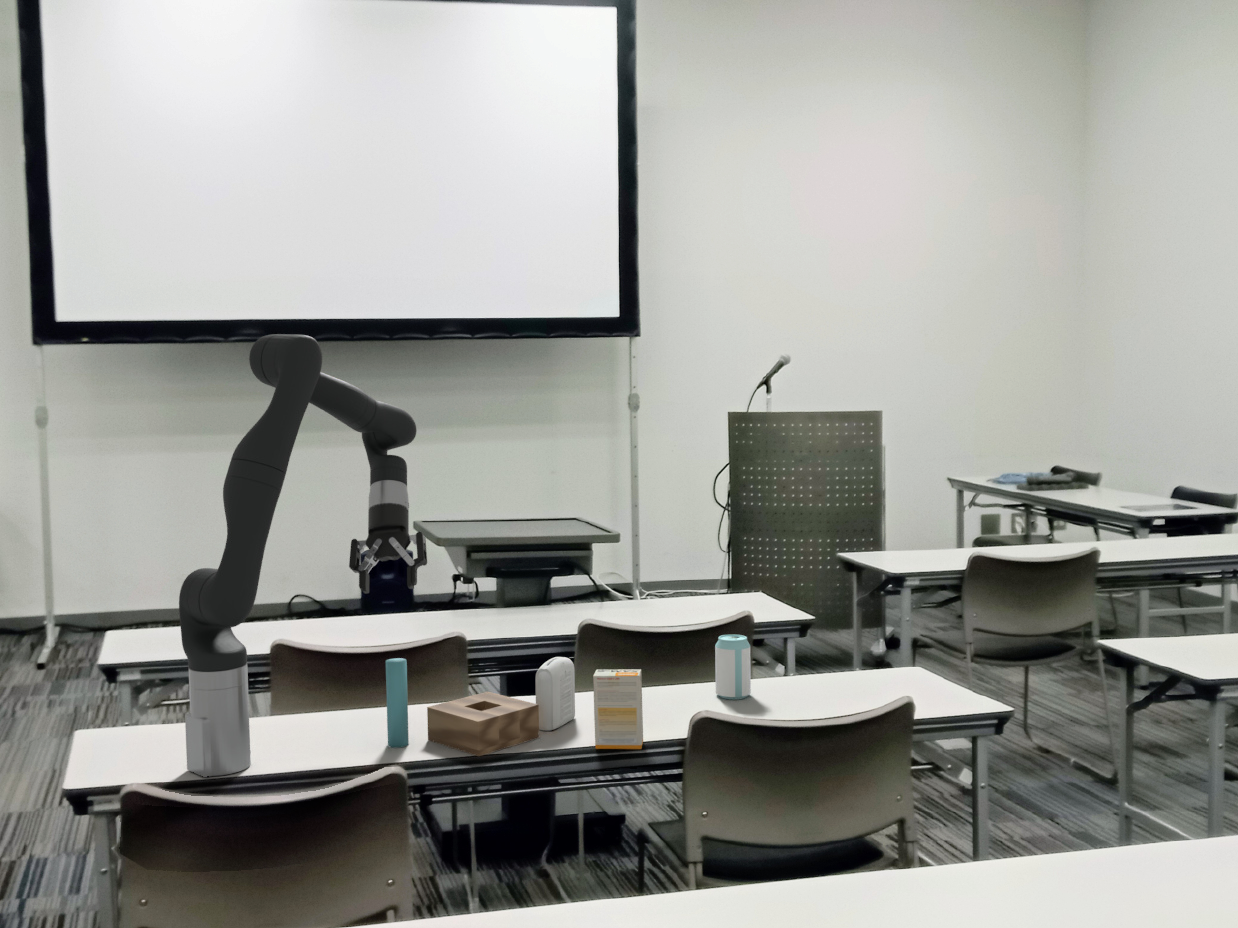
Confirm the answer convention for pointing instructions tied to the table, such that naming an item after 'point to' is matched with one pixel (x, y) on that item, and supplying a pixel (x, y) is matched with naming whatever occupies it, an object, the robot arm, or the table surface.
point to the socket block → (483, 723)
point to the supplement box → (618, 708)
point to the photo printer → (555, 693)
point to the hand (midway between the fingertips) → (388, 589)
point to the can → (732, 667)
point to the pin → (397, 702)
